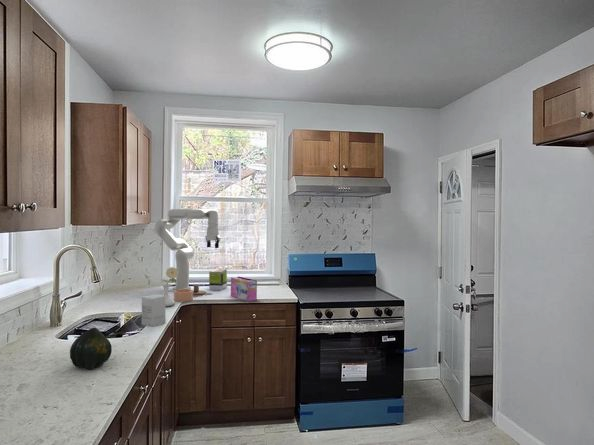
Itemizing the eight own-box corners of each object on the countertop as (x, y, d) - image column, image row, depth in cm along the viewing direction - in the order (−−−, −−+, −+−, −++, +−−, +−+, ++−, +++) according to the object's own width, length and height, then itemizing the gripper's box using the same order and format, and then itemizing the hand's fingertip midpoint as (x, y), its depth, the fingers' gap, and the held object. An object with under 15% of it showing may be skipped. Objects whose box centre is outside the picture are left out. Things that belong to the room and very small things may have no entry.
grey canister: (154, 320, 227) (154, 293, 227) (165, 323, 222) (166, 295, 222) (140, 324, 219) (141, 296, 219) (152, 327, 215) (152, 298, 214)
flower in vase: (156, 308, 257) (156, 268, 256) (157, 304, 268) (157, 266, 267) (177, 307, 260) (178, 267, 260) (178, 303, 271) (178, 265, 271)
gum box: (229, 295, 299) (229, 277, 299) (238, 294, 304) (238, 276, 304) (247, 301, 281) (248, 281, 281) (257, 299, 287) (257, 280, 286)
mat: (179, 294, 301) (179, 293, 301) (198, 291, 314) (198, 290, 314) (193, 297, 290) (193, 296, 290) (212, 294, 303) (212, 293, 303)
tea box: (215, 286, 334) (215, 268, 334) (227, 287, 333) (227, 268, 333) (208, 289, 320) (209, 271, 319) (221, 290, 318) (221, 271, 318)
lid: (182, 293, 301) (183, 285, 301) (198, 291, 312) (198, 283, 312) (193, 296, 293) (194, 287, 292) (209, 293, 303) (209, 285, 303)
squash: (70, 363, 148) (98, 326, 155) (56, 354, 158) (83, 320, 165) (100, 380, 156) (126, 345, 163) (85, 371, 166) (109, 338, 173)
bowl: (170, 299, 283) (170, 290, 282) (185, 296, 292) (186, 288, 292) (180, 302, 275) (181, 293, 274) (196, 299, 284) (196, 290, 284)
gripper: (202, 225, 319) (201, 247, 319) (216, 226, 307) (215, 248, 308) (209, 225, 324) (209, 246, 325) (224, 225, 313) (223, 248, 313)
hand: (212, 247), depth 316 cm, fingers open, 9 cm apart
